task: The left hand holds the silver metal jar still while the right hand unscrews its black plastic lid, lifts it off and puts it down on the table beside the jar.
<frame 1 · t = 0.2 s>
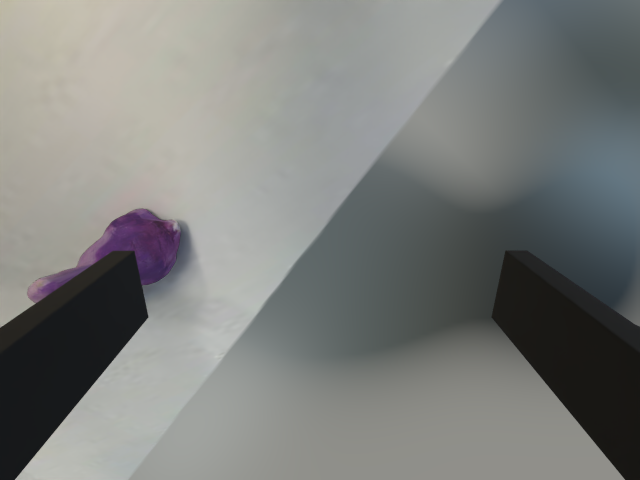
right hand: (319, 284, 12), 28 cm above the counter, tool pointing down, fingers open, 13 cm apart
figurine: (145, 246, 42), on the counter
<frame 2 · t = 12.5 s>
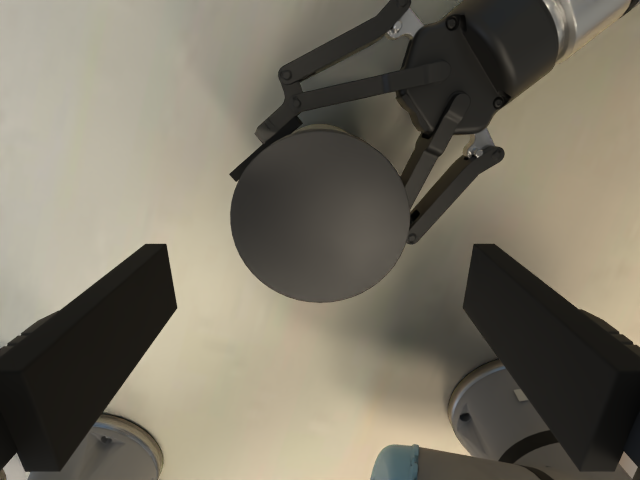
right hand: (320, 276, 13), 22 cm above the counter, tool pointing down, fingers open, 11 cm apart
left hand: (278, 221, 29), fingers closed on jar, 9 cm apart
lid: (320, 222, 19), point 16 cm above the counter, screwed on, not yet turned
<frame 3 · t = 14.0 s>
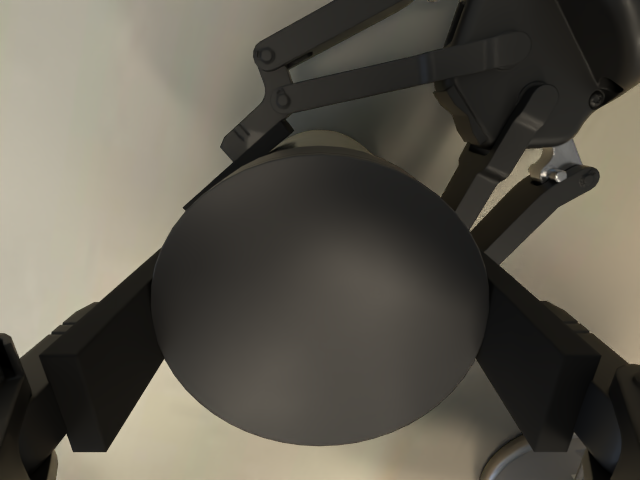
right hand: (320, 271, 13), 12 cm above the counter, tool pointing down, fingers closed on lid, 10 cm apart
left hand: (260, 270, 20), fingers closed on jar, 9 cm apart
jar: (319, 196, 25), on the counter, touching left hand
lid: (320, 319, 10), point 16 cm above the counter, screwed on, not yet turned, touching right hand
when the right hand's fingers open (13 cm above the counter, at t = 15.7 s): lid stays where it is, point 16 cm above the counter.
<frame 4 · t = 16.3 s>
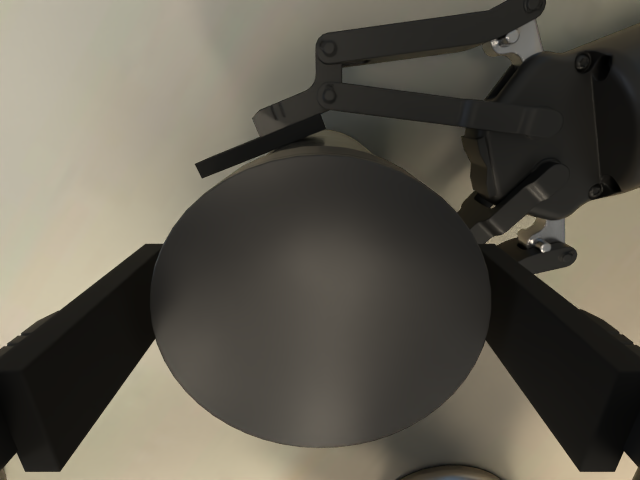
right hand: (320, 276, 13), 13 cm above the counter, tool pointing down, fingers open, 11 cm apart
left hand: (247, 248, 20), fingers closed on jar, 9 cm apart
jar: (320, 195, 25), on the counter, touching left hand
lid: (320, 320, 10), point 16 cm above the counter, turned 101° so far, risen 0.3 cm, still on its thread
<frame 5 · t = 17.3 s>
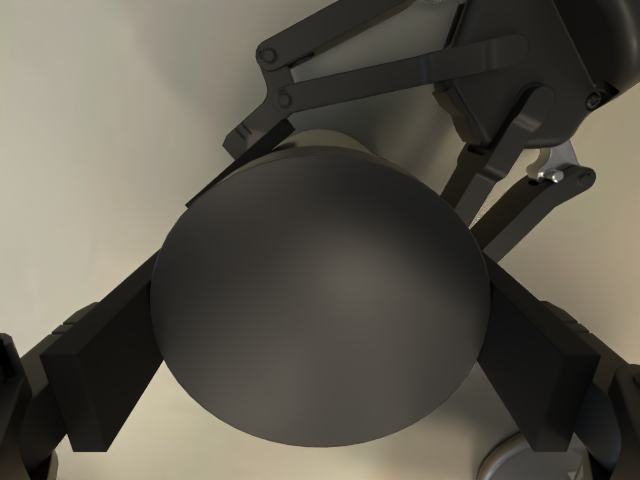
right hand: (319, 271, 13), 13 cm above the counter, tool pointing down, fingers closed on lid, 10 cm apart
left hand: (260, 268, 20), fingers closed on jar, 9 cm apart
jar: (320, 195, 25), on the counter, touching left hand
lid: (320, 319, 10), point 16 cm above the counter, turned 101° so far, risen 0.3 cm, still on its thread, touching right hand
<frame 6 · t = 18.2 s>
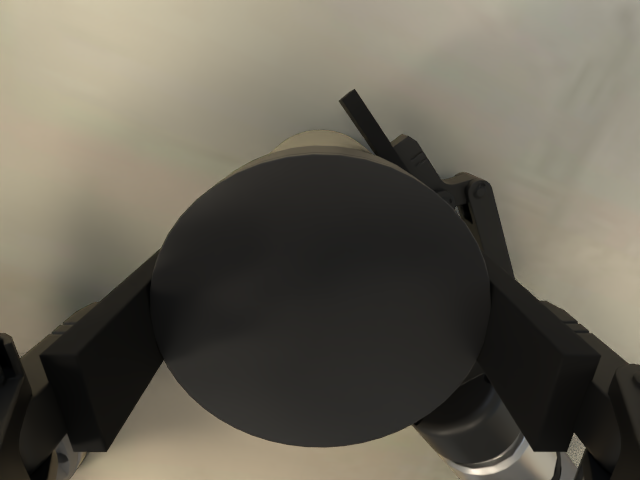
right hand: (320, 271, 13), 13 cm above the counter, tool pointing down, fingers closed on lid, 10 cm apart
jar: (320, 195, 25), on the counter, touching left hand
lid: (320, 319, 10), point 16 cm above the counter, off its thread, touching right hand
when the right hand's fingers open (0 cm above the counter, at t = 23.7 s): lid drops 2 cm, point 2 cm above the counter.
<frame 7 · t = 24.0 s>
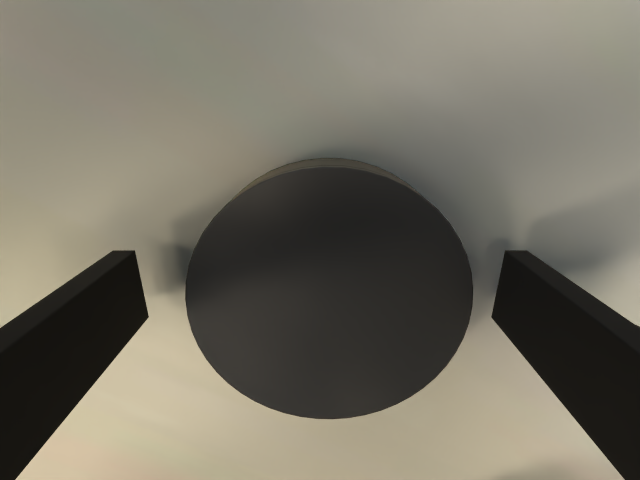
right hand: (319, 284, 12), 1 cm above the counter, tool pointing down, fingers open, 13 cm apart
lid: (328, 306, 12), point 2 cm above the counter, off its thread
when the left hand's fingers open (6 cm above the counter, at t = 24.7 s): jar stays where it is, on the counter.
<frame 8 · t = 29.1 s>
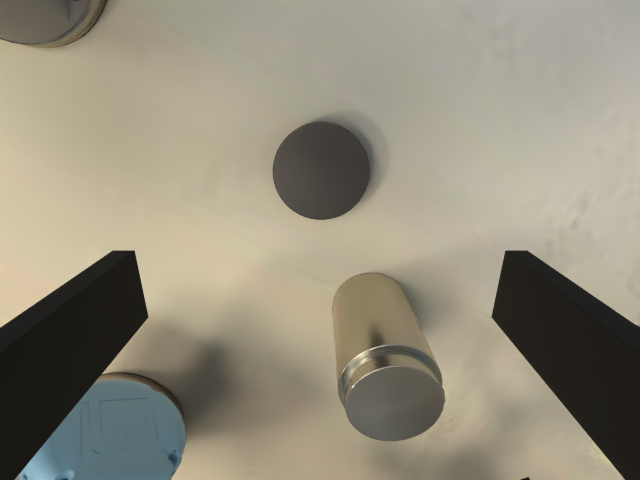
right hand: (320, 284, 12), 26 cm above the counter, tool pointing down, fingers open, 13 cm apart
jar: (369, 305, 43), on the counter
lid: (321, 173, 35), point 2 cm above the counter, off its thread
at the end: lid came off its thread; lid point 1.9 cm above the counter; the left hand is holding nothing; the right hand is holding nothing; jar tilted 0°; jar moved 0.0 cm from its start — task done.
